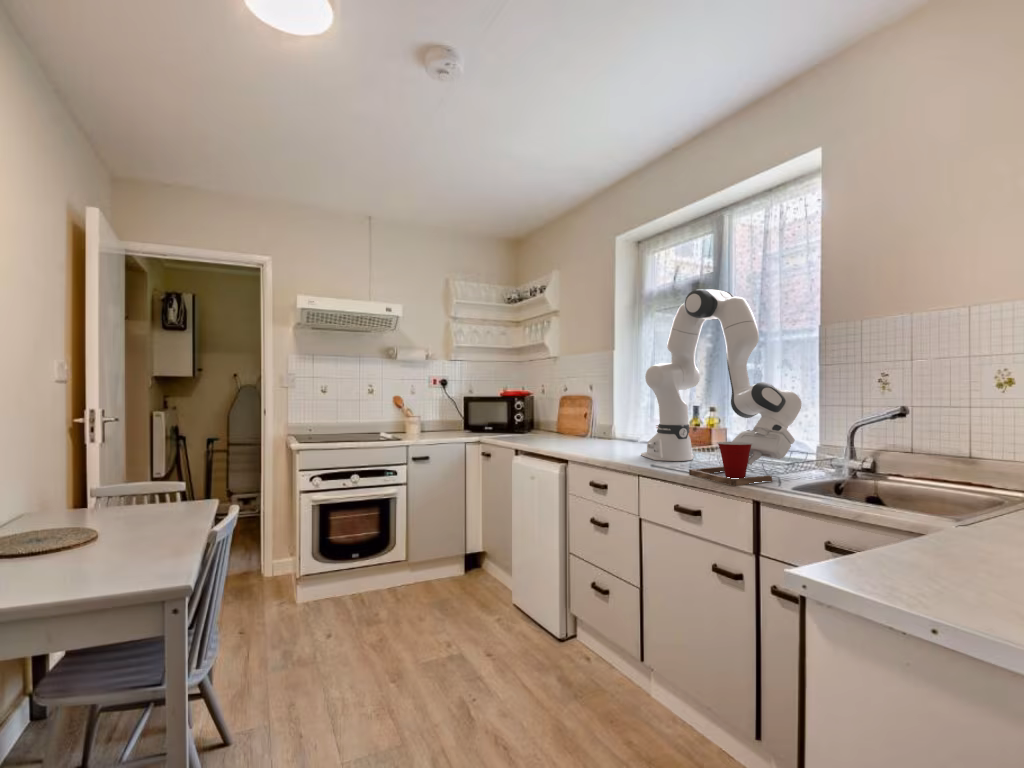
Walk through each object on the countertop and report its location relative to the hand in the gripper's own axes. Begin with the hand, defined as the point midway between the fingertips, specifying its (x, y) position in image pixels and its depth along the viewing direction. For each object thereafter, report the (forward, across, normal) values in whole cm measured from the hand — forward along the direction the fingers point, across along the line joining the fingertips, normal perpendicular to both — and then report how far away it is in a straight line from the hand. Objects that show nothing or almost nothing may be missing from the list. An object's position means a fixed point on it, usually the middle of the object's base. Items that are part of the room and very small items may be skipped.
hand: (746, 462), depth 165 cm
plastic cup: (+7, 0, 0) cm, 7 cm away
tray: (+8, 0, -2) cm, 8 cm away
